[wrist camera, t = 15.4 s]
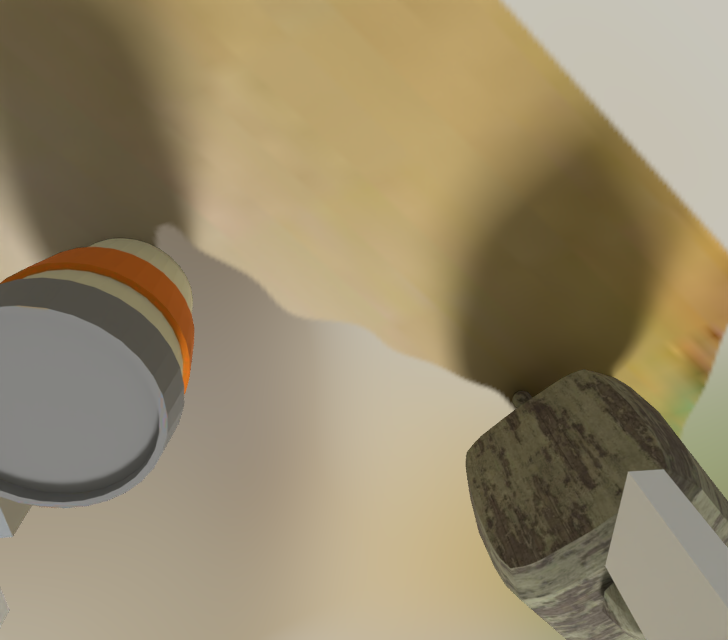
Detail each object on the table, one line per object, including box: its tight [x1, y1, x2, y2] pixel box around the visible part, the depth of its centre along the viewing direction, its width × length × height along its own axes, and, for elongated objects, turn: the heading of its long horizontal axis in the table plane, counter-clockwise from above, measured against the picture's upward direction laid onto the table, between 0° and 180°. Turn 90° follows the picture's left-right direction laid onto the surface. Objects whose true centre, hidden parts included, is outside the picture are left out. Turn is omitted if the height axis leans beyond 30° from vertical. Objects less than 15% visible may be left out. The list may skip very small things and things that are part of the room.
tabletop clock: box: [466, 369, 728, 640], centre depth 38 cm, size 14×9×25 cm, turn 131°
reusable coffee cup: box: [0, 238, 194, 508], centre depth 35 cm, size 13×13×15 cm
